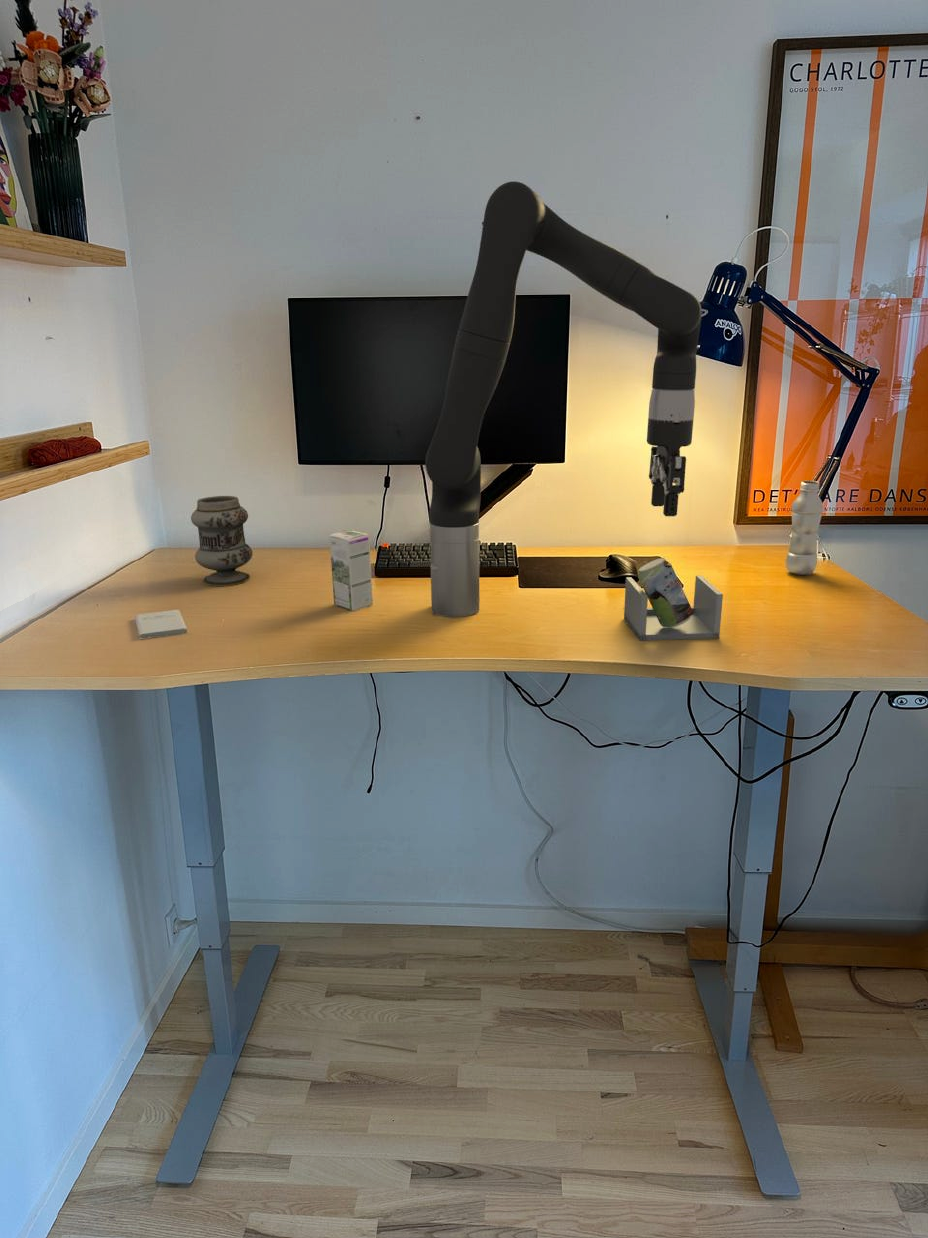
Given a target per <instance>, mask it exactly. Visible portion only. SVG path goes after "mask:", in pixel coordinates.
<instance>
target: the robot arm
mask: <svg viewBox="0 0 928 1238" xmlns="http://www.w3.org/2000/svg"><path fill="white" fill-rule="evenodd" d="M483 215H484V216H483V222H482V230H481V236H480V242H479V251H478V257H477V262H476V268H475V271H474V275H473V277H472V282H471V284H470V287H469V291H468V294H467V297H466V302H465V304H464V309H463V312H462V316H461V320H460V323H459V326H458V330H457V334H456V339H455V343H454V347H453V352H452V358H451V363H450V366H449V367H450V368H449V371H448V377H447V382H446V387H445V388H446V389H445V396H444V401H443V405H442V409H441V413H440V417H439V419H438V422H437V426H436V427H435V431H434V433H433V436H432V439H431V442H430V444H429V446H428V450H427V453H426V456H425V462H424V463H425V470H426V473H427V477H429V480H430V482H431V485H432V489H431V502H430V506H429V536H430V537H429V541H430V543H429V545H430V561H429V562H430V594H431V595H430V596H431V597H430V598H431V601H430V602H431V603H430V604H431V615H433V616H442V617H451V618H452V617H454V618H456V617H457V618H458V617H467V616H471V615H475V614H477V613H479V611H480V601H481V600H480V508H481V496H482V494H481V491H482V490H481V489H482V488H481V485H482V482H481V481H482V465H481V464H482V463H481V461H482V460H481V453H480V450H479V447H478V442H479V437H480V432H481V427H482V424H483V419H484V417H485V416H484V415H485V413H486V412H487V411H486V410H487V409H488V407H489V404H490V402H491V399H492V397H493V395H494V393H495V390H496V389H497V386H498V383H499V381H500V378H501V375H502V372H503V370H504V367H505V364H506V360H507V356H508V352H509V349H510V345H511V342H512V337H513V332H514V325H515V315H516V298H517V297H516V295H517V286H518V280H519V279H518V278H519V274H520V270H521V267H522V264H523V260H524V259H525V255H526V252H527V251H528V252H531V254H532V253H533V254H536V255H537V256H541V257H543V258H544V259H547V260H549V261H551V262H553V263H555V264H556V265H558V266H560V267H561V268H563V269H564V270H566V271H568V272H570V273H571V274H572V275H574V276H575V277H577V278H578V279H579V280H581V282H583V283H584V284H586V285H587V286H589V287H590V288H592V289H593V290H595V291H596V292H598V293H600V294H601V295H603V296H604V297H605V298H608V299H609V300H610V301H612V302H614V303H616V304H617V305H619V306H621V307H623V308H625V309H627V310H629V311H632V312H633V313H635V314H637V316H640V317H641V318H642V319H643V320H645V321H647V322H648V323H649V324H650V325H652V326H654V327H655V328H657V347H656V349H657V351H656V356H655V357H654V362H653V368H652V369H653V370H652V383H651V393H650V397H649V402H648V403H649V404H648V418H647V432H646V443H647V444H648V445H650V446H651V449H650V451H651V452H650V461H649V474H648V479H649V480H650V483H651V486H652V487H651V499H650V500H651V501H650V505H652V506H653V507H663V510H662V511H663V513H662V514H663V515H664V516H665V517H676V516H677V515H678V505H679V495H681V494H682V493H684V491H685V479H686V468H687V467H686V465H687V464H686V463H687V458H686V456H684V455H683V456H681V448H683V447H689V446H691V445H692V443H693V441H692V440H693V429H694V421H695V420H694V418H695V408H696V405H695V404H696V400H695V391H696V390H695V389H696V378H697V350H698V345H699V339H700V338H699V337H700V330H701V324H702V323H701V322H702V311H703V310H702V306H701V303H700V301H699V299H698V298H697V297H696V296H695V295H694V294H693V293H691V292H689V291H687V290H685V289H684V288H682V287H680V286H678V285H676V284H675V283H673V282H670V281H669V280H666V279H665V278H663V277H661V276H659V275H657V274H656V273H655V272H653V271H652V270H651V269H650V268H649V267H648V266H645V265H644V264H642V263H641V262H638V261H637V260H636V259H634V258H633V257H630V256H629V255H627V254H625V253H624V252H622V251H621V250H618V249H617V248H615V247H613V246H611V245H609V244H607V243H604V242H602V241H601V240H598V239H596V238H594V237H592V236H589V235H588V234H586V233H584V232H582V231H581V230H579V229H578V228H576V227H574V226H572V225H571V224H570V223H568V222H567V221H565V220H564V219H563V218H562V217H560V216H559V215H558V214H557V213H556V212H554V211H553V210H552V209H551V208H550V207H549V206H548V205H546V204H545V202H544V201H543V200H542V198H541V197H540V196H539V195H538V194H537V192H536V191H534V190H533V189H532V188H531V187H530V186H528V185H526V184H524V183H523V182H520V181H516V180H515V181H508V182H505V183H503V184H501V185H499V186H498V187H496V189H495V190H494V191H493V192H492V194H491V195H490V197H489V199H488V201H487V203H486V206H485V210H484V214H483Z"/></svg>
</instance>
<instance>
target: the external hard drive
mask: <svg viewBox="0 0 928 1238" xmlns="http://www.w3.org/2000/svg"><path fill="white" fill-rule="evenodd" d="M134 621H135V624H136V625H137V626H136V629H138V630H137V634H138V638H139V639H140V638H148V637H155V638H158V637H157V636H162V637H167V636H166V635H170V636H174V634H177V635H183V634H182V633H184V634H188V627H187V626H186V623H185V622H184V619H183V617H182V614H181V611H180V610H179V609H173V610H163V611H157V612H149V613H148V612H147V613H139V614H135V615H134ZM148 639H149V638H148Z"/></svg>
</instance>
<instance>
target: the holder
mask: <svg viewBox="0 0 928 1238" xmlns="http://www.w3.org/2000/svg"><path fill="white" fill-rule="evenodd" d="M624 587H625V591H624V612H623V620H624V621H625V622H626V624H627V625H628V627H629V628H630V630H631V631H632V632H633V633H634V634H635V636H636V637H637V639H638V640H639V641H668V640H669V641H670V640H672V641H673V640H674V641H675V640H702V639H704V640H705V639H708V640H709V639H720V635H721V634H720V633H721V632H720V631H721V621H722V611H723V599H724V594H723V592H721V591H720V590H719V589H718V588H716V586H714V585H713V584H712V583H711V582H709V580H707V579H706V578H705V577H704V576H703V575H702V574H701V575H695V581H694V595H693V596H694V597H693V606H691V608H692V610H693V613H692V615H691V617H690V619H689V620H688V621H687V622H685V623H683V624H681V625H679V626H676V627H673V628H667V627H663V626H661V625H660V623H659V621H658V619H657V616H656V614H655V612H654V610H653V608H652V607H648V603H649V599H648V596H647V595H646V593H645V591H644V589H643V588H642V587H641V586H640V585H639V584H638V583H637V581H635V579H633V578H632V577H629V576H627V577H625V585H624Z"/></svg>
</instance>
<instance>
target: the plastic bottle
mask: <svg viewBox="0 0 928 1238" xmlns="http://www.w3.org/2000/svg"><path fill="white" fill-rule="evenodd" d="M799 491H800V493H799V494H798V496H797V497H796V498H795V499H794V501H792V504H791V535H790V536H791V537H790V542H789V547H788V552H787V555H786V558H785V568H786V570H787V571H788V572H789V573H791V574H796V575H800V576H801V575H811V574H813V573H814V572H815V570H816V568H817V566H818V554H817V547H818V546H817V544H818V534H819V533H818V532H819V529H820V523H821V519H822V516H823V512H824V504H823V501H822V499H821V498H820V496H819V494H818V492H820V482H819V481H816V480H815V481H814V480H804V481H803V480H802V481H801V483H800V487H799Z"/></svg>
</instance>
